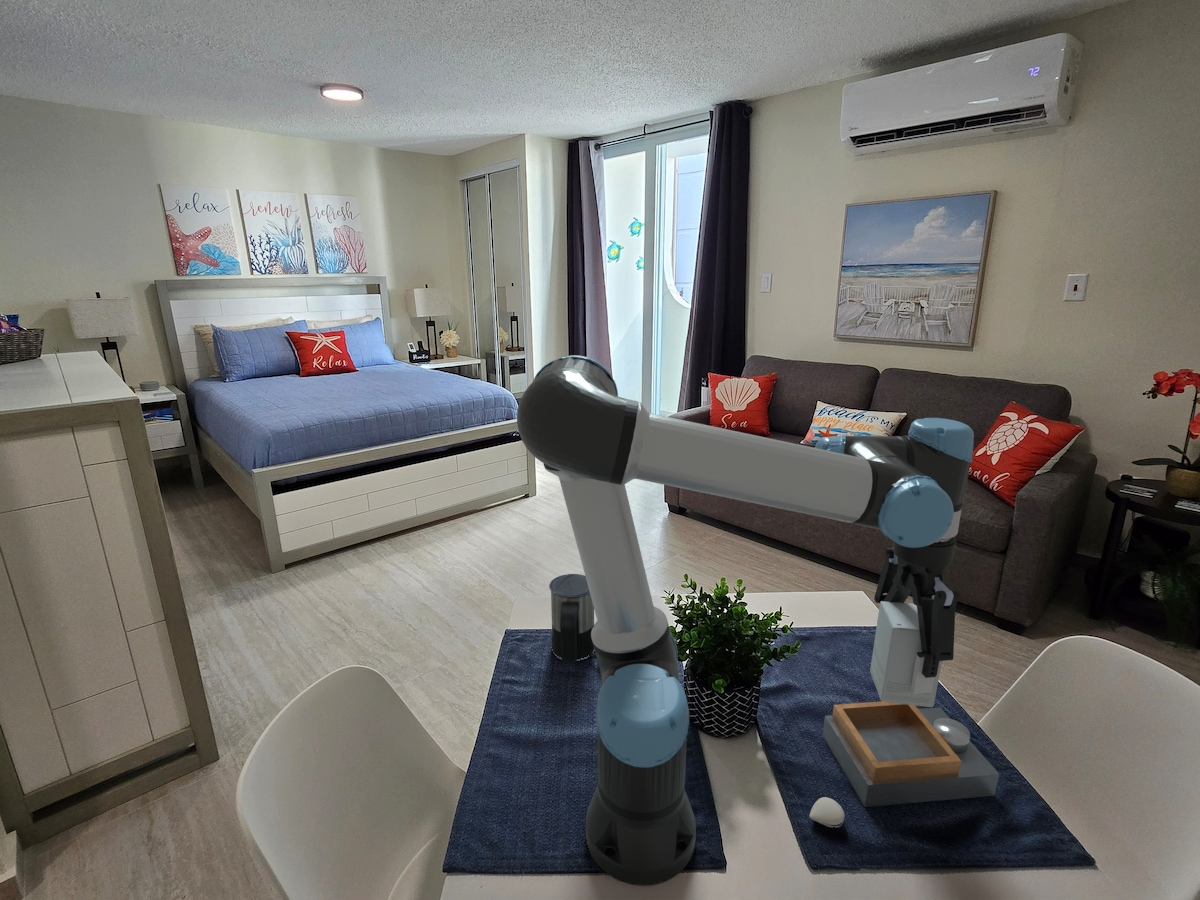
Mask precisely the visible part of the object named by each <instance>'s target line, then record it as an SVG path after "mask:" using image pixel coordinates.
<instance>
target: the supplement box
mask: <svg viewBox="0 0 1200 900" xmlns="http://www.w3.org/2000/svg"><path fill="white" fill-rule="evenodd" d="M877 613H878V615H877V621H876V629H875V636H874V641H873V642H874V643H873V649H872V657H871V662H870V667H869V669H870V670H869V671H870V674H871V678H872V680H873V682H874V686H875V689H876V692H877V693H878V696H879V699H880V701H883V702H890V703H899V704H907V705H915V706H916V707H924V708H925V707H926V708H934V705H935V702H936V696H937V689H938V685H939V679H940V674H941V669H942V668H941V667H942V664H943V663H942V662H943V661H939V666H938V671H937V676H936V677H935V678H934V683H933V689H932V693H920V694H913V693H912V692H911V685H912V679H913V673H914V667H915V661H916V655H917V651H922V648H921V639H920V630H919V621H918V612H917V606H916V605H914V603H913V602H912V603H911V602H910V603H909V602H904V603H898V602H885V601H881V602H880V604H879V608H878V612H877ZM930 648H931V647H930Z"/></svg>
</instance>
